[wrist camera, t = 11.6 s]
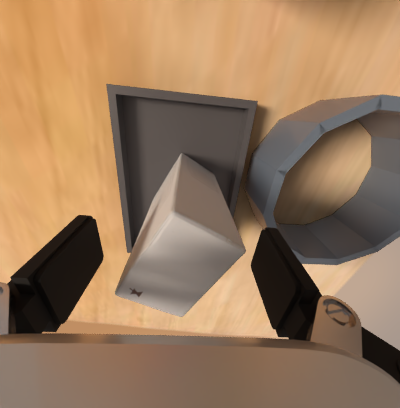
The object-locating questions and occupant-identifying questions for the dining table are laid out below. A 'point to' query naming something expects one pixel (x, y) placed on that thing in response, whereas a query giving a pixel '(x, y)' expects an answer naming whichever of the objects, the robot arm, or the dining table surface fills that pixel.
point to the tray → (174, 143)
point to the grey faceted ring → (358, 205)
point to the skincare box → (181, 242)
